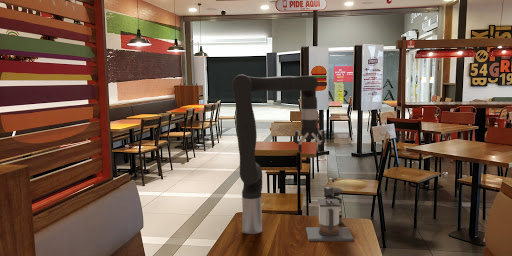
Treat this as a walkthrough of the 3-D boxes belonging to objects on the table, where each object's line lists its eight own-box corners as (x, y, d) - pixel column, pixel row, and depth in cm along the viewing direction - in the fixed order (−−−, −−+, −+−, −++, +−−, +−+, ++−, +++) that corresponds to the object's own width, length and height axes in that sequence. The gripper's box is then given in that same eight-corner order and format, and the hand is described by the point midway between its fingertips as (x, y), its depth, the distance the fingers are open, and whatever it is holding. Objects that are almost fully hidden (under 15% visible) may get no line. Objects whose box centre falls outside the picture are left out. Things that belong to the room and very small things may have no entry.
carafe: (320, 239, 181) (320, 207, 180) (317, 228, 194) (317, 199, 192) (341, 238, 181) (342, 207, 179) (337, 228, 193) (337, 198, 191)
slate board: (308, 241, 182) (308, 238, 182) (306, 229, 196) (306, 227, 196) (353, 240, 182) (353, 238, 181) (347, 229, 195) (347, 227, 195)
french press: (343, 219, 209) (343, 176, 206) (344, 225, 200) (344, 180, 197) (320, 218, 211) (320, 175, 208) (320, 225, 202) (320, 180, 199)
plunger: (324, 221, 186) (324, 189, 184) (323, 217, 190) (323, 186, 188) (334, 220, 186) (334, 189, 184) (332, 217, 190) (332, 186, 188)
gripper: (294, 119, 187) (295, 153, 189) (325, 118, 186) (325, 153, 188) (294, 117, 194) (294, 150, 196) (323, 117, 194) (323, 150, 196)
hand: (309, 152), depth 192 cm, fingers open, 8 cm apart
